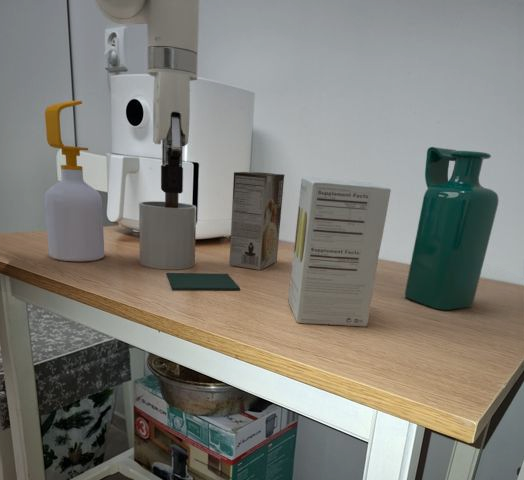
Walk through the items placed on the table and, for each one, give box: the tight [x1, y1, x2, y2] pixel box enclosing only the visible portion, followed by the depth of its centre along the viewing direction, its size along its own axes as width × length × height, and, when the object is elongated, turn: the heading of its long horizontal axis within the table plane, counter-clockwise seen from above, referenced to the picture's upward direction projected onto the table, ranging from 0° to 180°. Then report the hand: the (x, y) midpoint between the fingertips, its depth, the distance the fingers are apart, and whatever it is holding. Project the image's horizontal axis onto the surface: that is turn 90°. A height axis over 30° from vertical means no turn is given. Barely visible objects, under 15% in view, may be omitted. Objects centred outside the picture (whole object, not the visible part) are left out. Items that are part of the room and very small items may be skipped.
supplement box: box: [288, 176, 392, 328], centre depth 62 cm, size 10×9×17 cm
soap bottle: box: [43, 100, 105, 263], centre depth 80 cm, size 9×9×25 cm
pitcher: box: [404, 146, 499, 311], centre depth 72 cm, size 10×8×22 cm
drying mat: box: [166, 272, 241, 291], centre depth 75 cm, size 10×9×1 cm
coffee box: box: [228, 171, 285, 271], centre depth 88 cm, size 9×6×16 cm
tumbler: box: [138, 200, 197, 271], centre depth 84 cm, size 9×9×10 cm
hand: (171, 191), depth 81 cm, fingers closed
